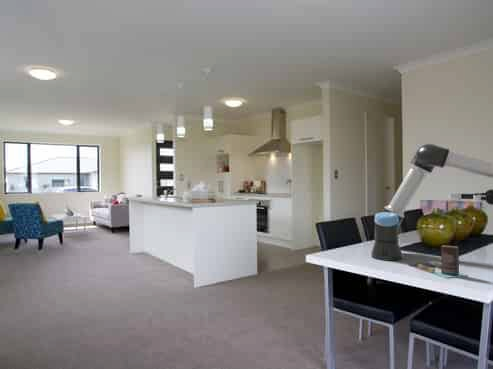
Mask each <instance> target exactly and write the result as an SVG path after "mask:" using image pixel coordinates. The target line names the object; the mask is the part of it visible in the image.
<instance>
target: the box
mask: <svg viewBox="0 0 493 369" xmlns="http://www.w3.org/2000/svg"><path fill="white" fill-rule="evenodd" d="M459 249H460V247H459V246H454V245H445V244H444V245H442V246H441V247H440V250H441V251H440V253H441V254H440V255H441V264H442V269H441V272H442V274H449V275H455V276H457V275H458V274H459V273H460V253H459V252H460V250H459Z"/></svg>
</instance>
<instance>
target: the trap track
mask: <svg viewBox="0 0 493 369" xmlns="http://www.w3.org/2000/svg"><path fill="white" fill-rule="evenodd" d="M408 266H409V267H413V268H415V269H419V270H421V271H424V272H427V273H430V274H433V273H435V271H436V269H435V268H438V269H440V270H442V262H441V263H440V262H435V264H433V263H429V262H422V263H413V264H412V263H411V264H408Z"/></svg>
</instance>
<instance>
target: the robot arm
mask: <svg viewBox="0 0 493 369" xmlns="http://www.w3.org/2000/svg"><path fill="white" fill-rule="evenodd" d="M409 167H410V168H409V170H408V172H407V174H406V175H405V177H404V178H403V180H402V182H401V184H400V185H399V187H398V189H397V190H396V192H395V194H394V196H393V197H392V199H391V201H390V202H389V204H388V205H386V206H383V209H382V210H381V212H377V213H375V215H374V243H373V247H372V249H371V258H373V259H376V260H381V261H401V260H402V259H403V252H402V250H401V247H400V245H399V227H400V225H401V224H402V222H403V220H404V218H405V215H404V212H405V211H406V209H407V208H408V206H409V204H410V203H411V201H412V200H413V198H414V196H415V194H416V193H417V191H418V189H419V188H420V186H421V184H422V183H423V181H424V179H425V178H426V176H428V175H431V173H432V172H433V171H434V169H435V168H436V167H437V168H441V169H444V168H451V169H454V170H459V171H463V172H466V173H470V174H473V175H474V174H475V175H480V176H483V177H487V178H492V179H493V161H492V160H488V159H484V158H479V157H474V156H471V155H466V154H463V153H458V152H452V150H451V149H449V148H445V147H442V146H439V145H436V144H431V143H425V144H423V145H421V146H420V147H419V148H418V149H417V150H416V151H415V154H414V156H413V157H412V159H411V161H410V162H409ZM448 200H458V201H461V200H472V201H473V202H486V203H487V204H488V205H491V206H493V189H492V188H491V189H488V190H486V192H481V193H479V192H476V193H448Z"/></svg>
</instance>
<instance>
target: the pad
mask: <svg viewBox="0 0 493 369" xmlns="http://www.w3.org/2000/svg"><path fill="white" fill-rule="evenodd" d="M432 274H433V275H436V276H438V277H442V278H444V279H453V278H463V277H469V275H468V274H465V273H461V272H459V274H458V275H457V276H455V275H449V274H442V271H440V272H439V271H436V272H435V273H432Z"/></svg>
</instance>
